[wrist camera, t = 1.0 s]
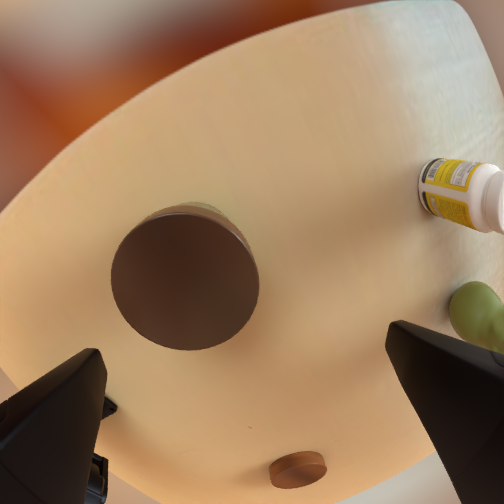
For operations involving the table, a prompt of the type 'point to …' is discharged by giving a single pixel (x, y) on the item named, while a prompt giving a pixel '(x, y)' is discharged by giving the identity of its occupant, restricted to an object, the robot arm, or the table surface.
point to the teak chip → (297, 470)
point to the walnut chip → (185, 278)
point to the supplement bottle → (464, 193)
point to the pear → (478, 316)
